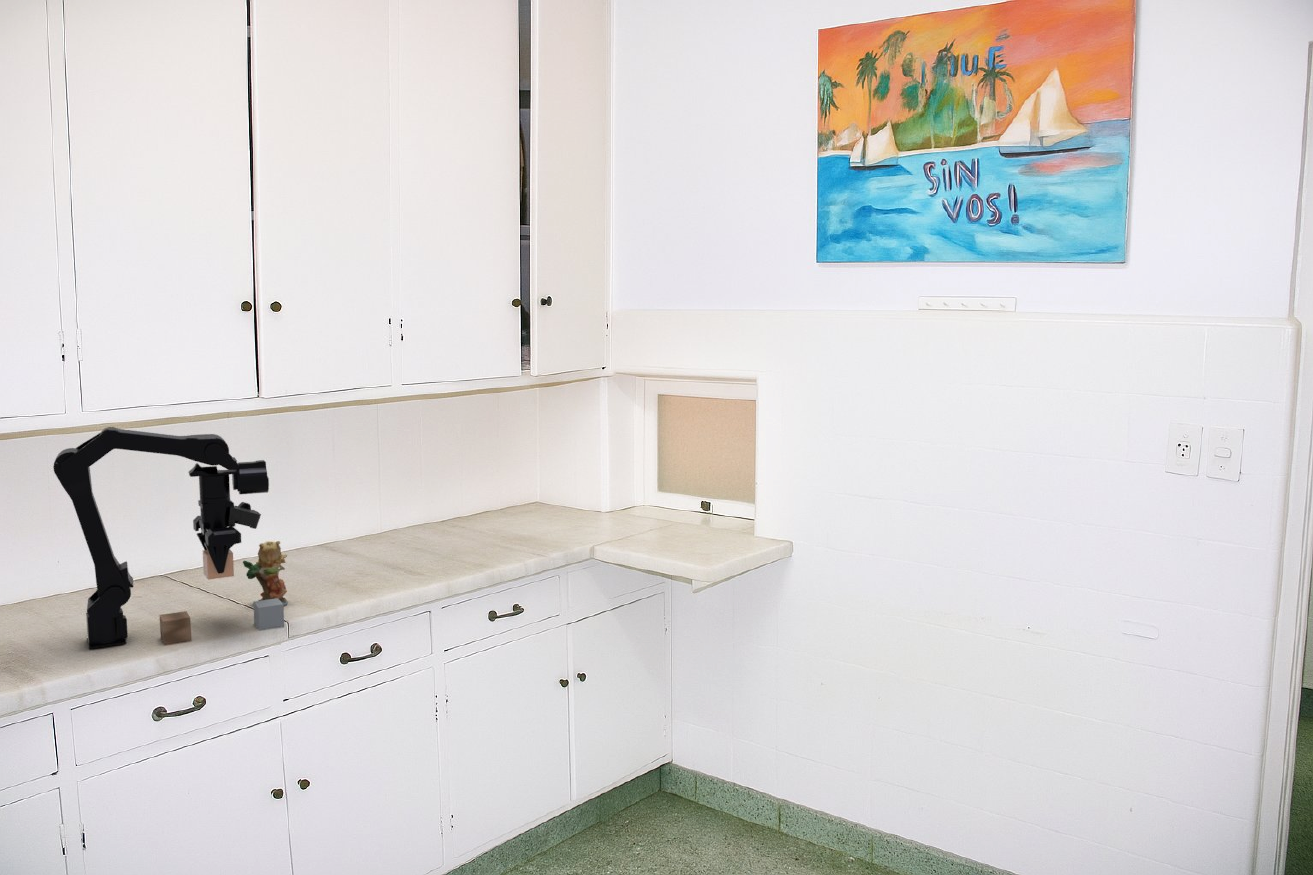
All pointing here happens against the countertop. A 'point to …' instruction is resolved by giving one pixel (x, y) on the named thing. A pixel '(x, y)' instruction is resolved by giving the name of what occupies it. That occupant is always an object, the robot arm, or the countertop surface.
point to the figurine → (269, 571)
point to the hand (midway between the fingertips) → (218, 570)
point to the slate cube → (268, 614)
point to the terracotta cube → (211, 570)
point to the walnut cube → (175, 628)
